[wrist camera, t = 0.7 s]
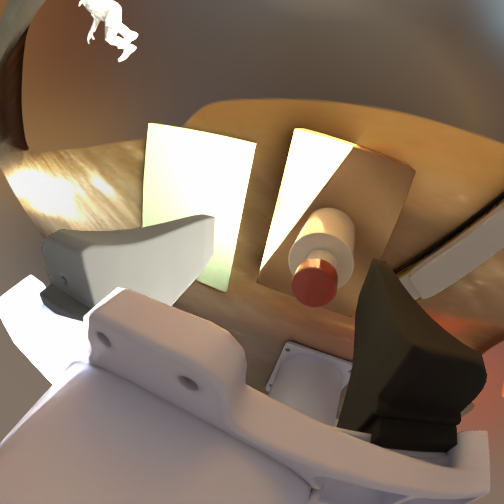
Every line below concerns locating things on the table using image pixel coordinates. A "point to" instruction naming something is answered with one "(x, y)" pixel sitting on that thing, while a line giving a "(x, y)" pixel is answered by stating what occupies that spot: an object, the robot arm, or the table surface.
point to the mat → (198, 187)
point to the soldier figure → (110, 25)
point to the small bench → (335, 206)
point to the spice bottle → (322, 256)
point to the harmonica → (456, 253)
